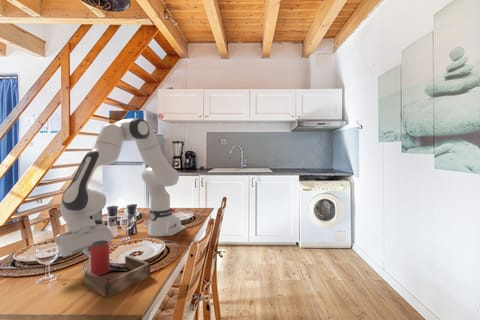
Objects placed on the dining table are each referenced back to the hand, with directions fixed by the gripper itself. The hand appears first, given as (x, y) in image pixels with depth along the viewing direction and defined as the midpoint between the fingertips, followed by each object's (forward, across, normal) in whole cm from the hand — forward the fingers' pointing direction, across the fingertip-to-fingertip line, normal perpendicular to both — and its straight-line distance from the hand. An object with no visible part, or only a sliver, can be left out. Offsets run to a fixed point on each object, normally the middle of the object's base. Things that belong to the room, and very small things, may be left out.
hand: (93, 257), depth 104 cm
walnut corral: (+15, +1, -8) cm, 17 cm away
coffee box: (-31, +26, +40) cm, 57 cm away
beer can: (+7, 0, +1) cm, 7 cm away
